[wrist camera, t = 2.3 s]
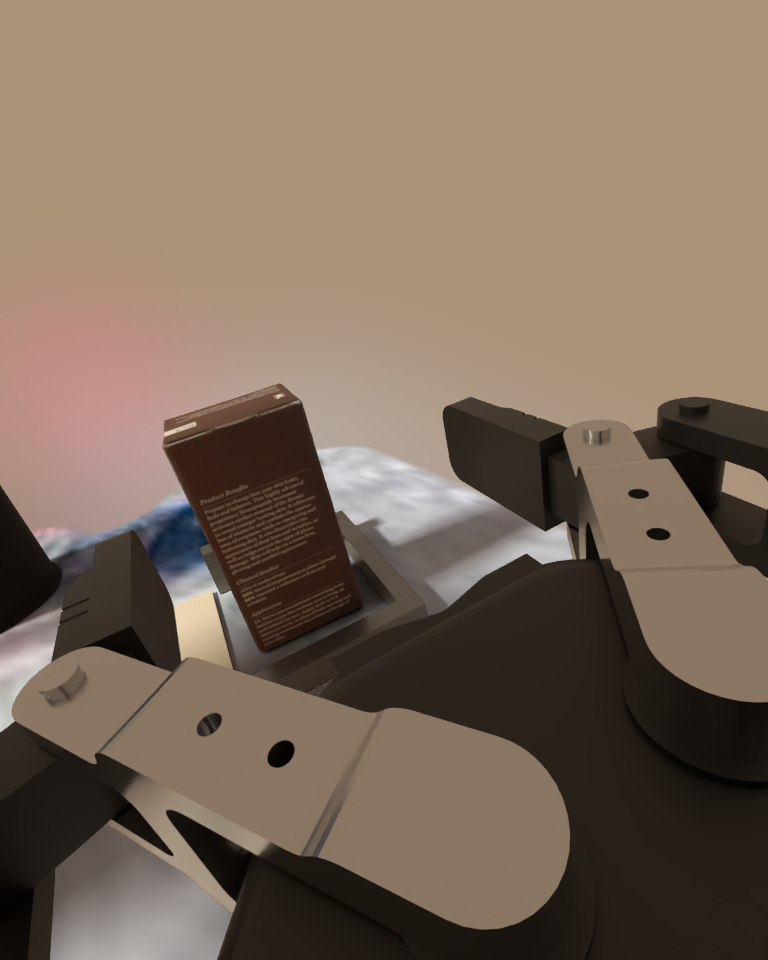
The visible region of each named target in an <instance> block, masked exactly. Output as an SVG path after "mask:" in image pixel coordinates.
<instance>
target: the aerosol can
mask: <svg viewBox="0 0 768 960" xmlns="http://www.w3.org/2000/svg"><path fill="white" fill-rule="evenodd" d="M61 577H62V571H61V568H60V567H59V565H57V564H55V563H54V562H51V561H50V560H49V558H48V556H47V555H46V553H45V552H44V550H43V549H42V547H41V546H40V544H39V543H38V541H37V540H36V538H35V537H34V535H33V534H32V532H31V531H30V529H29V528H28V526H27V525H26V523H25V522H24V520H23V519H22V517H21V516H20V514H19V513H18V511H17V510H16V508H15V507H14V505H13V504H12V502H11V501H10V499H9V498H8V496H7V495H6V493H5V492H4V490H3V489H2V487H1V486H0V632H1V631H3V630H5V629H7V628H8V627H10V626H12V625H14V624H15V623H17V622H18V621H20V620H21V619H23V618H25V617H26V616H27V615H29V614H30V613H31V612H33V611H34V610H35V609H37V608H38V607H39V606H40V605H41V604H42V603H43V602H45V601H46V600H47V599H48V598H49V596H50V595H51V594H52V593H53V592H54V591H55V589H56V588H57V586H58V585H59V582H60V580H61Z"/></svg>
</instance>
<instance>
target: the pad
mask: <svg viewBox="0 0 768 960" xmlns="http://www.w3.org/2000/svg"><path fill="white" fill-rule="evenodd" d="M174 611H175V618H176V626H177V633H178V640H179V648H180V655H181V662H182V661H183V660H184V659H185V658H188V657H194V658H198V659H201V660H205V661H208V662H211V663H214V664H217V665H220V666H223V667H226V668H230V669H233V666H232V662H231V658H230V655H229V651H228V647H227V644H226V640H225V636H224V632H223V629H222V625H221V621H220V618H219V614H218V610H217V607H216V603H215V599H214V595H213V592H212V590H211V591H208V592H206V593H204V594H201V595H199V596H197V597H195V598H192V599H190V600H188V601H186V602H183V603H181V604H179V605H177V606H174ZM233 670H234V669H233Z"/></svg>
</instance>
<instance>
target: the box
mask: <svg viewBox="0 0 768 960" xmlns="http://www.w3.org/2000/svg"><path fill="white" fill-rule="evenodd" d="M163 450H164V452H165V454H166V456H167V458H168V460H169V462H170V464H171V466H172V468H173V470H174V472H175V474H176V476H177V478H178V481H179V483H180V484H181V487H182V489H183V491H184V493H185V495H186V497H187V499H188V501H189V503H190V506H191V508H192V510H193V512H194V514H195V516H196V518H197V520H198V522H199V524H200V526H201V528H202V530H203V533H204V535H205V537H206V539H207V541H208V542H209V545H210V547H211V549H212V551H213V553H214V555H215V557H216V560H217V562H218V563H219V566H220V568H221V570H222V572H223V574H224V576H225V578H226V580H227V583H228V585H229V587H230V589H231V591H232V593H233V596H234V598H235V599H236V602H237V604H238V606H239V609H240V611H241V613H242V615H243V617H244V619H245V621H246V623H247V626H248V628H249V630H250V632H251V635H252V637H253V639H254V641H255V643H256V645H257V647H258V649H259V650H260V651H261V652H265V651H267V650H269V649H271V648H273V647H275V646H277V645H279V644H282V643H284V642H286V641H288V640H290V639H292V638H294V637H296V636H299V635H301V634H303V633H305V632H307V631H309V630H311V629H313V628H316V627H318V626H320V625H322V624H324V623H326V622H328V621H331V620H333V619H335V618H337V617H339V616H341V615H343V614H346V613H348V612H350V611H352V610H355V609H357V608H359V607H362V606H363V603H362V599H361V596H360V593H359V590H358V586H357V583H356V579H355V576H354V573H353V570H352V566H351V563H350V560H349V556H348V553H347V550H346V546H345V543H344V539H343V536H342V533H341V530H340V527H339V524H338V520H337V517H336V514H335V511H334V507H333V504H332V500H331V497H330V494H329V491H328V488H327V484H326V481H325V478H324V475H323V471H322V468H321V465H320V462H319V458H318V455H317V452H316V448H315V445H314V442H313V438H312V434H311V432H310V429H309V425H308V421H307V418H306V414H305V411H304V408H303V404H302V401H301V400H299V399H298V398H297V397H296V396H294V395H293V394H292V393H291V392H290V391H289V390H288V389H287V388H285V387H284V386H283V385H282V384H277V385H273V386H271V387H267V388H264V389H262V390H259V391H256V392H253V393H250V394H247V395H244V396H241V397H238V398H235V399H232V400H228V401H226V402H222V403H219V404H216V405H213V406H209V407H206V408H203V409H200V410H197V411H194V412H191V413H188V414H184V415H181V416H178V417H175V418H171V419H168V420H165V421H164V441H163Z"/></svg>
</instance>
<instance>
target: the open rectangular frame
mask: <svg viewBox="0 0 768 960" xmlns="http://www.w3.org/2000/svg"><path fill="white" fill-rule="evenodd" d="M335 514H336V517H337V520H338V524H339V527H340V530H341V533H342V536H343V539H344V543H345V546H346V550H347V552H348V554H349V555H350V556H351V558H352V559H353V560H354V561H355V563H356V564H357V565H358V566H359V568H360V569H361V570H362V572H363V573H364V574H365V575H366V577H367V578H368V579H369V580H370V582H371V583H372V584H373V586H374V587H375V588H376V589H377V591H378V592H379V593H380V594H381V596H382V597H383V598H384V600H385V601H386V602H387V603H388V606H386V607H384V608H382V609H380V610H378V611H376V612H374V613H373V614H371V615H369V616H367V617H365V618H363V619H361V620H359V621H357V622H355V623H353V624H351V625H349V626H347V627H345V628H343V629H341V630H339V631H337V632H335V633H333V634H331V635H329V636H327V637H325V638H323V639H321V640H320V641H318V642H316V643H314V644H312V645H310V646H308V647H306V648H304V649H302V650H300V651H298V652H296V653H294V654H292V655H290V656H288V657H286V658H284V659H282V660H280V661H278V662H276V663H274V664H272V665H270V666H268V667H267V668H265V669H263V670H261V671H259V672H257V673H255V674H253V675H251V676H254V677H258V678H261V679H264V680H267V681H270V682H273V683H276V684H279V685H282V686H286V687H289V688H292V689H295V690H298V691H301V692H304V693H305V692H307V691H309V690H311V689H313V688H314V687H316V686H318V685H320V684H322V683H324V682H326V681H327V680H329V679H331V678H333V677H335V676H337V674H336V672H335V669H334V667H333V664H332V661H331V658H333V657H335V656H337V655H339V654H341V653H343V652H344V651H346V650H348V649H350V648H352V647H354V646H356V645H357V644H359V643H361V642H363V641H365V640H367V639H369V638H370V637H372V636H374V635H376V634H378V633H380V632H382V631H384V630H386V629H389V628H393V627H396V626H399V625H402V624H406V623H409V622H412V621H415V620H418V619H422V618H425V617H427V612H426V607H425V603H424V602H423V601H422V600H421V599H420V597H419V596H418V595H417V594H416V593H415V592H414V591H413V590H412V589H411V587H410V586H409V585H408V584H407V583H406V582H405V581H404V580H403V579H402V577H401V576H400V575H399V574H398V573H397V572H396V571H395V570H394V568H393V567H392V566H391V565H390V564H389V563H388V562H387V561H386V560H385V558H384V557H383V556H382V555H381V554H380V553H379V552H378V551H377V549H376V548H375V547H374V546H373V545H372V544H371V543H370V542H369V541H368V539H367V538H366V537H365V536H364V535H363V534H362V533H361V532H360V530H359V529H358V528H357V527H356V526H355V525H354V524H353V523H352V522H351V520H350V519H349V518H348V517H347V516H346V515H345V514H344V513H343V512H342V511H339V512H337V513H335ZM200 549H201V553H202V556H203V558H204V560H205V563H206V565H207V567H208V569H209V571H210V573H211V575H212V577H213V580H214V582H215V584H216V586H217V588H218V590H219V592H220V594H222V593H224V592H226V591H228V590H231V589H230V587H229V585H228V583H227V580H226V578H225V576H224V574H223V572H222V570H221V568H220V566H219V563H218V562H217V560H216V557H215V555H214V553H213V551H212V549H211V547H210V545H209V544H208V545H205V546H203V547H200Z"/></svg>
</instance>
